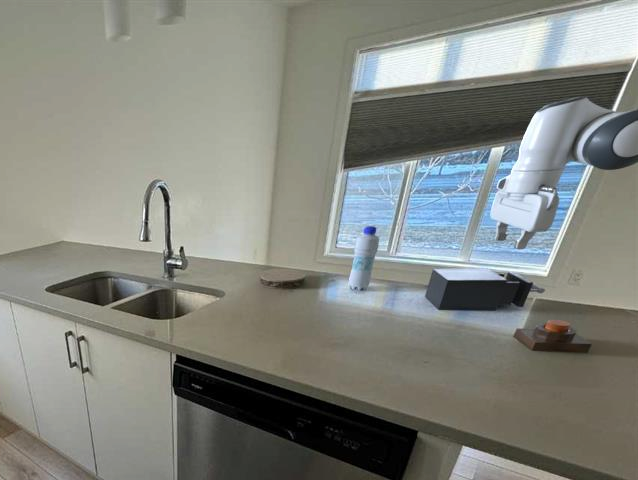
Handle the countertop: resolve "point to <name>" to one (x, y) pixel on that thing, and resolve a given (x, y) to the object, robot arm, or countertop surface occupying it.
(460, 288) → the dark navy box
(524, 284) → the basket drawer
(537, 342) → the control pad
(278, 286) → the round wood slice
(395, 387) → the countertop surface
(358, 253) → the bottle
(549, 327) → the button
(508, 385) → the countertop surface
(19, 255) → the countertop surface
